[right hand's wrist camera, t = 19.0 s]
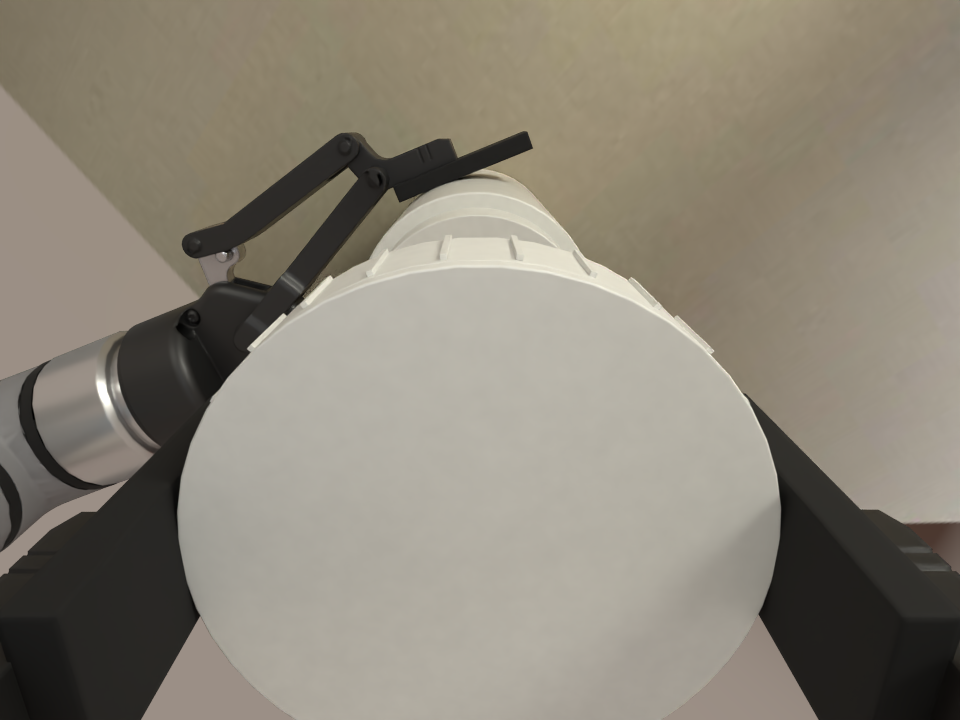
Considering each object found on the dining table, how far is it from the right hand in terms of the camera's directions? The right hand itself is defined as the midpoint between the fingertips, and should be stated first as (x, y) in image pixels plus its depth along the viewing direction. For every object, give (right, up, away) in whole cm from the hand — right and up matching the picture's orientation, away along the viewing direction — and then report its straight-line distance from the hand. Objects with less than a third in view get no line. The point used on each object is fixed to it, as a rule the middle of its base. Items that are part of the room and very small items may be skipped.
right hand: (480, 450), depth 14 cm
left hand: (+4, +8, +17) cm, 19 cm away
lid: (0, -1, -3) cm, 3 cm away
